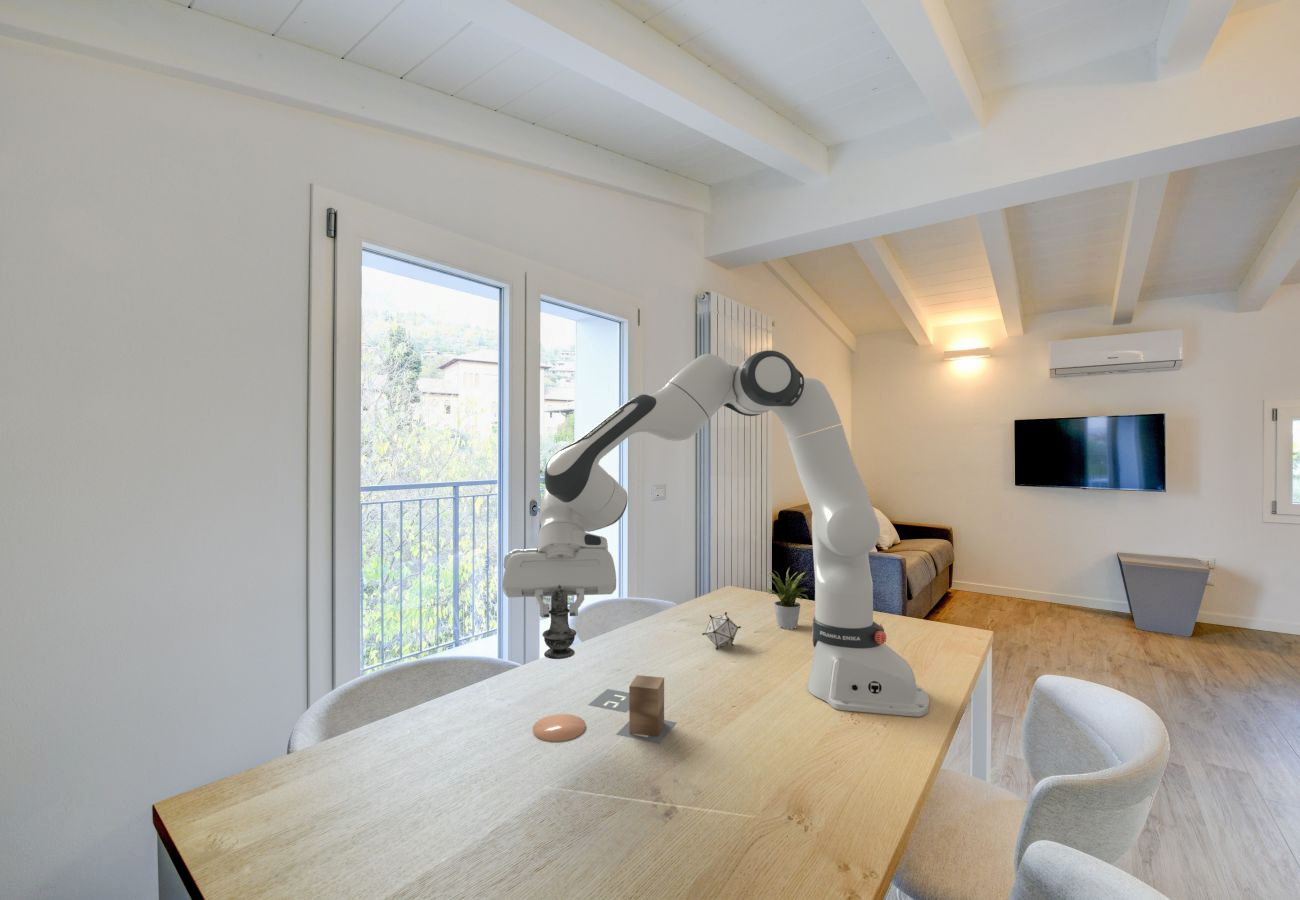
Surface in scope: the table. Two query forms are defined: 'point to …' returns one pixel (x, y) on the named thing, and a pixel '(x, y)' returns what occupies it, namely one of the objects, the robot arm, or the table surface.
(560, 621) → the salt shaker
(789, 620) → the house plant
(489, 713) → the table surface
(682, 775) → the table surface
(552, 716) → the coaster
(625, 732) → the tile block
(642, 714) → the walnut block
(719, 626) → the white icosahedron model
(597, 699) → the grey marker tile
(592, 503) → the robot arm
